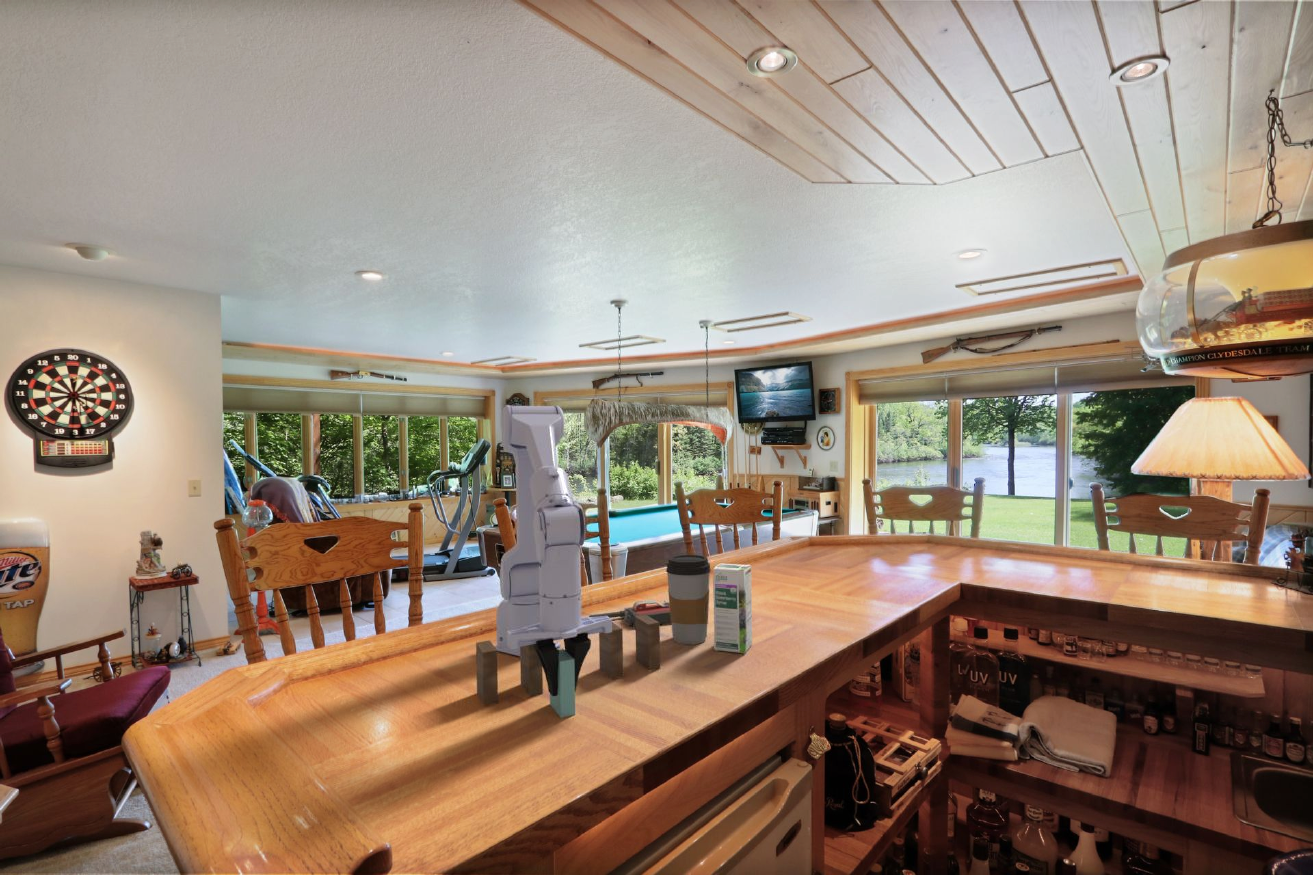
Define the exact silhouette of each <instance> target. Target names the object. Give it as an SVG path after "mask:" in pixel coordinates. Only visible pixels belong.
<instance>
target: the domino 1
mask: <svg viewBox="0 0 1313 875" xmlns="http://www.w3.org/2000/svg"><path fill="white" fill-rule="evenodd" d="M475 644H476V645H475V647H476V648H475V650H476V651H475V654H476V659H475V660H476V694H477V696H478V698H479V700H480V699H481V700H480V702H481V701H482V702H481V704H482V705H483V707H485V706H490V705H495V704H499V686H498V685H499V684H498V683H499V682H498V651H497V649H496V648H495V645H494V644H493V643H492V641H491V640H490V639H489V640H484V641H483V640H482V641H478V642H476V643H475Z"/></svg>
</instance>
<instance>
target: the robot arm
mask: <svg viewBox="0 0 1313 875" xmlns="http://www.w3.org/2000/svg"><path fill="white" fill-rule="evenodd" d="M564 432H565V417H564V411H563V409H562V408H561V407H560V405H558V404H557V405H556V404H555V405H510V404H505V405H504V407H503V408H502V411H501V444H502V447H503V451H504V452H506V453H509V454H511V455H513V460H514V463H515V500H516V501H515V503H516V506H515V508H516V509H515V510H516V512H515V513H516V514H515V517H516V524H515V525H516V544H515V545H513V547H511V548H510V549H508V550H507V551H506V552H505V553H504V554H503V555H502V557H501V559H500V569H499V586H500V587H499V588H500V594H501V598H503V599H502V600H501V601H500V603H499V605H498V608H497V610H496V617H495V618H496V620H495V621H496V645H494V647H495V648H496V649H497V652H501V653H505V654H510V655H512V656H513V655H514V656H516V657H517V656H518V657H520V646H525V645H531V644H532V645H533V647H534V649H535V651H536V653H537V655H538V657H539V659H540V662H541V664H542V671H543V673H544V676H545V679H546V682H547V689H548V693H549V695H550V694H551V695H552V696H557V694H558V679H557V666H558V656H559V650H558V649H559V647H561V646H562V643H561V642H558V641H559V640H563V644H564V650H565V651H566V652H567V653H568V654H569V655H570V656H572V657H573V658H574V668H575V692H577V691H576V690H577V687H578V686H577V685H578V681H579V676H580V673H581V669H582V666H583V664H584V661H585V660H586V657H587V655H588V652H589V651H590V649H591V645H592V640H591V639H590V638H589V635H595V634H599V633H601V632H604V633H611V632H612V622H613V619H612V618H609V617H608V616H600V617H589V616H588V617H582V574H581V570H582V568H581V566H582V564H581V547H583V545H584V544H585V540H586V519H585V513H584V509H583V507H582V505H581V504H579V502H578V500H574V496H573V492H572V489H571V488H572V487H571V485H570V481H569V477H568V474H567V472H566V470H564V469H563V468H560V467H559V464H558V456H557V449H556V447H557V446H558V444H559V443H560V442H561V440H562V438H563V436H564Z"/></svg>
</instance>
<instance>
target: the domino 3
mask: <svg viewBox="0 0 1313 875" xmlns="http://www.w3.org/2000/svg"><path fill="white" fill-rule="evenodd" d="M557 649H558V650H559V656H558V666H557V679H558V694H557V696H552V695H551V694H550V693H549V704H550V706H551V707H552V708H553V710H554V711H555V712H556V714H557V715H558V716H559V717H560V718H561V719H562V718H566V717H572V716H575V715H576V691H575V668H574V658H573V657H572V656H570V655H569V654H568V653H567V652H566V651H565V648H557Z"/></svg>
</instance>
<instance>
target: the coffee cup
mask: <svg viewBox="0 0 1313 875" xmlns="http://www.w3.org/2000/svg"><path fill="white" fill-rule="evenodd" d="M665 571H666V574H667V583H668V584H667V586H668V589H667V591H668V602H669V605H670V616H671V633H672V637H673V640H674V641H675V642H676V643H678V644H682V645H698V644H701V643H703V642H705V641H706V638H707V637H708V624H709V610H710V609H709V607H710V606H709V603H710V573H711V571H712V570H711V563H710V562H709V558H708V557H707V556H705V555H700V554H699V555H698V554H679V555H673V556H670V557H669V558H668V562H667V564H666V570H665Z"/></svg>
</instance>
